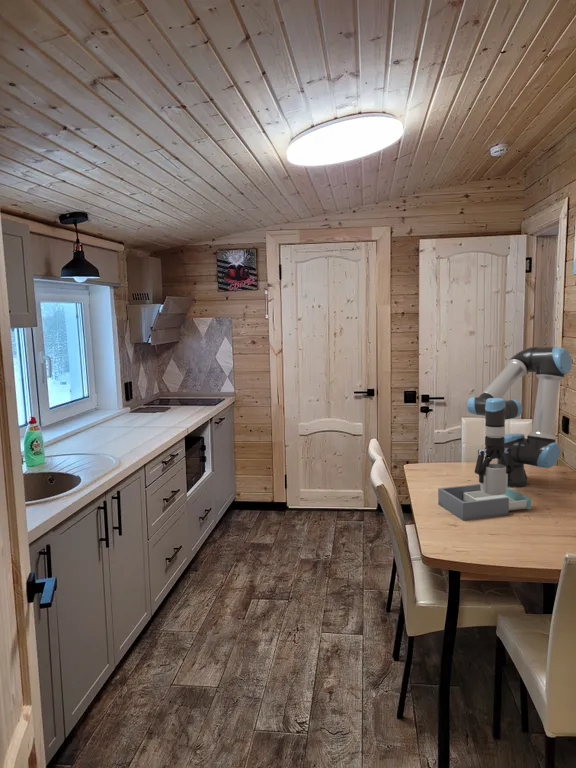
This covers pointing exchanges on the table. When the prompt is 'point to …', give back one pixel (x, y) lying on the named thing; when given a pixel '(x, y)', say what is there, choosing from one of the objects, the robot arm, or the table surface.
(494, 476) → the mug
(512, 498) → the tray
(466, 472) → the table surface
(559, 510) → the table surface
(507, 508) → the dock
